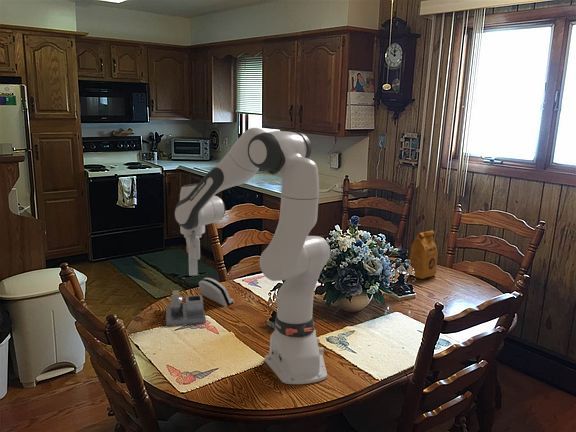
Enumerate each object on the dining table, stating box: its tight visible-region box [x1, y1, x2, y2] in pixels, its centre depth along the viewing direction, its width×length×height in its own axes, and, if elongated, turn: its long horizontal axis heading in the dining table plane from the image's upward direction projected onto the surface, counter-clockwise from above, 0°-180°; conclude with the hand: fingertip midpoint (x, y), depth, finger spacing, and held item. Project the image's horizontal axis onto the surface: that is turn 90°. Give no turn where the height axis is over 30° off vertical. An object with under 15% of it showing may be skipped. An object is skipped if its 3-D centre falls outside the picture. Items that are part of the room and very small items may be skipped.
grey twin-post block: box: [165, 289, 207, 327], centre depth 184 cm, size 16×14×8 cm
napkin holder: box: [198, 277, 235, 307], centre depth 200 cm, size 17×5×10 cm, turn 43°
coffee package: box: [409, 230, 438, 280], centre depth 231 cm, size 10×12×22 cm
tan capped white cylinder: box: [185, 245, 199, 276], centre depth 180 cm, size 4×4×10 cm
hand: (193, 264), depth 180 cm, fingers closed on tan capped white cylinder, 4 cm apart
